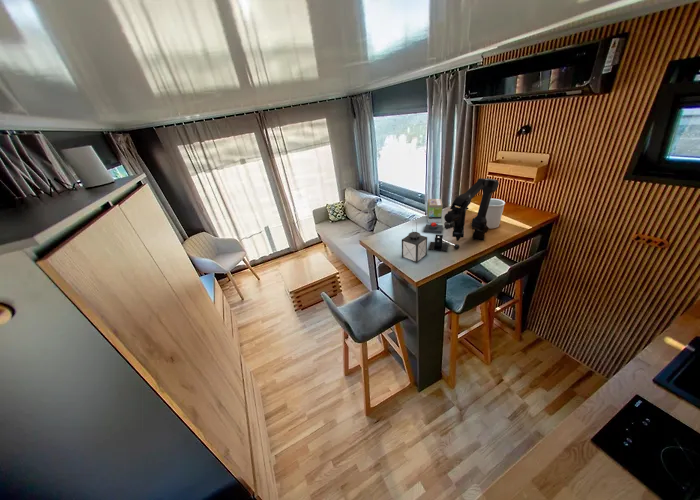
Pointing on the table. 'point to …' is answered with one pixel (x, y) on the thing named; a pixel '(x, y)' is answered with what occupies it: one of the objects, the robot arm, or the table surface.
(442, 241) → the lever
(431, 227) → the button block
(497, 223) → the utensil holder
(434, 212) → the tea box
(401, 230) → the table surface
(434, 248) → the bracket
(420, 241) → the lantern
